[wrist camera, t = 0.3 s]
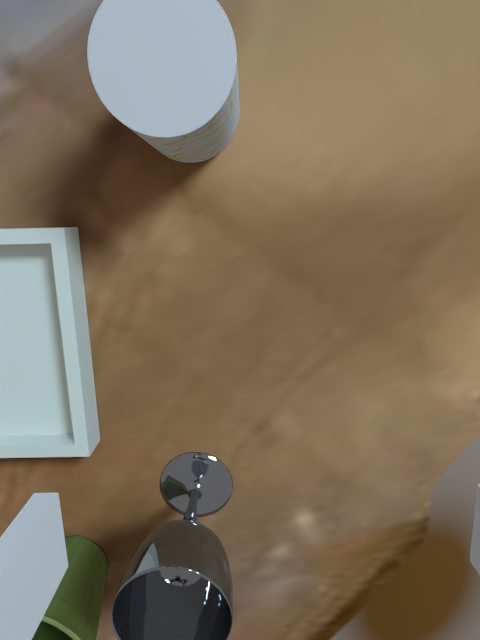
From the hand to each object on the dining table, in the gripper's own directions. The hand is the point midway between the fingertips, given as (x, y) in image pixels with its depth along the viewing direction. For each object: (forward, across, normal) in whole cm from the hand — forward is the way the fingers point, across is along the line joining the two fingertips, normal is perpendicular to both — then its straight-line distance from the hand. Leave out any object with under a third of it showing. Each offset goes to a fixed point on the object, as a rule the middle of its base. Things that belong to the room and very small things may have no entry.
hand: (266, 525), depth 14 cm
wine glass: (+27, -6, -16) cm, 32 cm away
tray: (+26, -25, -1) cm, 36 cm away
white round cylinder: (+27, -5, +18) cm, 33 cm away
